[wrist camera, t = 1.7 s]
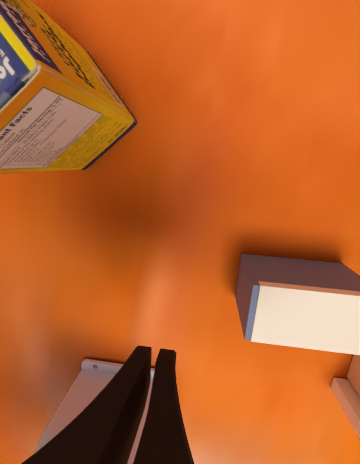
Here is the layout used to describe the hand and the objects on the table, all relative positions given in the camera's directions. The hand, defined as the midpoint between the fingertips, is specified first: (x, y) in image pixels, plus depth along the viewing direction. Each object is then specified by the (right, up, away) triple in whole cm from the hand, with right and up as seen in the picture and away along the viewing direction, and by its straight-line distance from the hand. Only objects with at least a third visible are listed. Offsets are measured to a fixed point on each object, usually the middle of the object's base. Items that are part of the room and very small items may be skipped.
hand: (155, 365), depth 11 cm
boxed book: (+10, +2, +9) cm, 14 cm away
